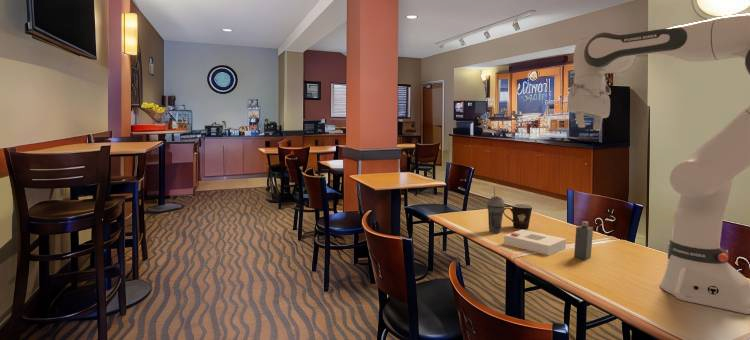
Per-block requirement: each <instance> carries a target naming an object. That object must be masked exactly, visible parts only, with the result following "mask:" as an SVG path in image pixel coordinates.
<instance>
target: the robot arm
mask: <svg viewBox="0 0 750 340" xmlns="http://www.w3.org/2000/svg"><path fill="white" fill-rule="evenodd" d="M652 54H653V55H654V54H658V55H665V56H669V57H674V58H675V59H679V60H682V61H686V62H694V63H695V62H696V63H697V62H700V63H701V62H703V63H704V62H712V61H721V60H728V59H737V58H738V59H739V58H740V59H744V65H745V69H746V71H747V73H748V74H749V75H750V13H745V14H743V13H742V14H735V15H727V16H722V17H721V16H720V17H715V18H711V19H707V20H703V21H698V22H693V23H688V24H684V25H677V26H673V27H672V26H671V27H667V28H659V29H658V28H657V29H653V30H647V31H639V32H638V31H637V32H633V33H626V34H614V33H610V32H600V33H597V34H595V35H593V36H587V37H585V38H582V39H581V40H579V41H578V42H577V43H576V44H575V47H574V51H573V70H574V77H573V84H571V85H570V88H569V89H570V90H569V92H568V95H567V110H568V112H570V113H572V114H575V115H574V116H575V119H576V122H577V127H578V128H580V129H581V128H586V121H585V118H584V117H585V116H586V117H591V118H594V119H593V120H594V124H592V129H593V130H594V131H597V132H598V131H601V125H602V123H603V119H607V118H609V116H610V112H611V98H610V96H609V95H611V93H612V91H611V88H610V87H609V86H608V85H607V83H606V82H605V80H604V75H605V74H620V73H625V72H627V71H628V70H630V69H631V68H632V67H633V66H634V65H635V62H636V59H637V56H644V55H652ZM749 167H750V104H748V105H747V106H746V107H745V108H744V109H743V110H742V111H740V112H739V113H738V114H737V115H736V116H735V117H734V118H733V119H731V121H729V122H728V123H727V124H726V125H725V126H724V127H723V128H721V130H719V131H718V132H717V133H716V134H714V135H713V136H712V137H710V138H709V139H707V140H706V141H705V142H704V143H702V144H701V145H700V146H698V148H696V149H695V150H693V151H692V152H690V154H688V155H687V156H685V158H683V159H682V160H681V161H680V162H679V163H677V164H676V165H675V166H674V167H673V169H672V170H671V172H670V175H669V182H670V183H669V184H670V185H671V187H672V188H673V190H675V192H677V193H678V194H680V196H679V197H680V198H679V200H678V203H677V206H676V209H675V210H674V213H673V221H672V229H671V231H672V232H671V239H670V240H669V241H668V246H667V248H668V249H667V259H668V260H667V264H666V265H667V266H666V269H665V271H664V272H665V273H664V274H663V277H662V279H661V282H660V284H659V287H660V288H661V289H662V290H663V291H665V292H667V293H669V294H671V295H672V296H674V297H675V298H676V299H678V300H680V301H683V302H689V303H693V304H697V305H698V304H699V305H704V306H707V307H713V308H717V309H723V310H727V311H730V312H731V311H732V312H736V313H741V314H744V315H745V314H746V315H750V281H749V279H748V278H747V277H745V275H744V274H742V273H741V272H740V271H738V270H737V269H736V268H734V267H733V266H732V265H731V264H730V263H729V262H728V260H729V250H728V249H726V250H725V248H723V247H721V238H722V232H723V231H722V230H723V229H722V228H723V221H724V216H725V213H726V210H727V206H728V205H727V204H728V201H729V197H730V193H731V188H732V184H733V179H734V178H736V176H738V175H740V174H741V173H742V172H743V171H745V170H746V169H748V168H749Z"/></svg>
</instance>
